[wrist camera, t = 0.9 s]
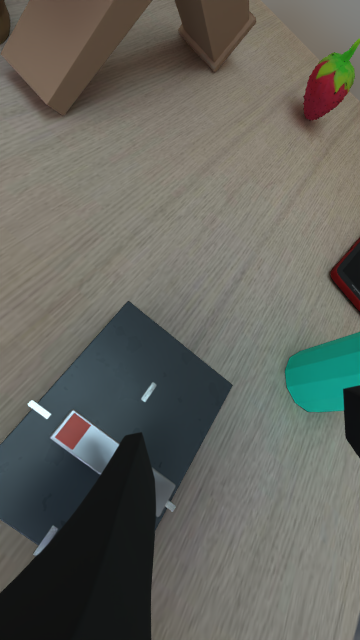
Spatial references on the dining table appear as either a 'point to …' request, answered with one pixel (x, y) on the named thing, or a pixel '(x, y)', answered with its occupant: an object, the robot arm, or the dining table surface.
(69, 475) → the plate
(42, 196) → the dining table surface
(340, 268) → the cell phone
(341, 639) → the dining table surface
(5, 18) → the lantern
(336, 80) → the strawberry
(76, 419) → the tap handle
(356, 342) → the candle
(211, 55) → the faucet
